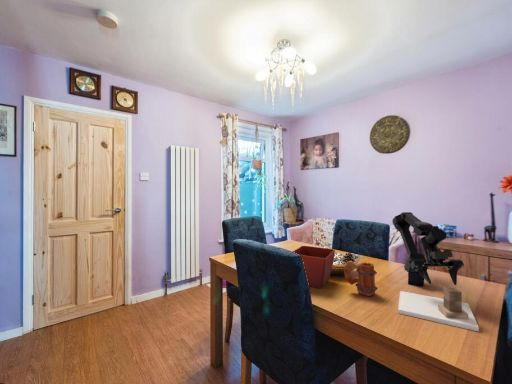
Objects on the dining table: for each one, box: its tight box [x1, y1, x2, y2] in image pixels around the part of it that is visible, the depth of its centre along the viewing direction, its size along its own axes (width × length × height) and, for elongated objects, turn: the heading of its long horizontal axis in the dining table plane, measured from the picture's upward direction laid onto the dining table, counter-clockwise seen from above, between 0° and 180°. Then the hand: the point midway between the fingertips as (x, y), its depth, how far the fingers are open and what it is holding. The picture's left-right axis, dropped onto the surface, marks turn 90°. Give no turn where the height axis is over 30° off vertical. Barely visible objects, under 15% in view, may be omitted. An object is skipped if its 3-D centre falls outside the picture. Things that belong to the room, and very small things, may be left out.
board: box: [397, 290, 480, 332], centre depth 98 cm, size 24×20×2 cm
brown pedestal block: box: [438, 286, 468, 319], centre depth 92 cm, size 7×6×10 cm
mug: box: [343, 260, 378, 297], centre depth 115 cm, size 15×8×15 cm, turn 71°
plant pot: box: [292, 245, 336, 289], centre depth 129 cm, size 19×19×17 cm
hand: (442, 284), depth 101 cm, fingers open, 9 cm apart
